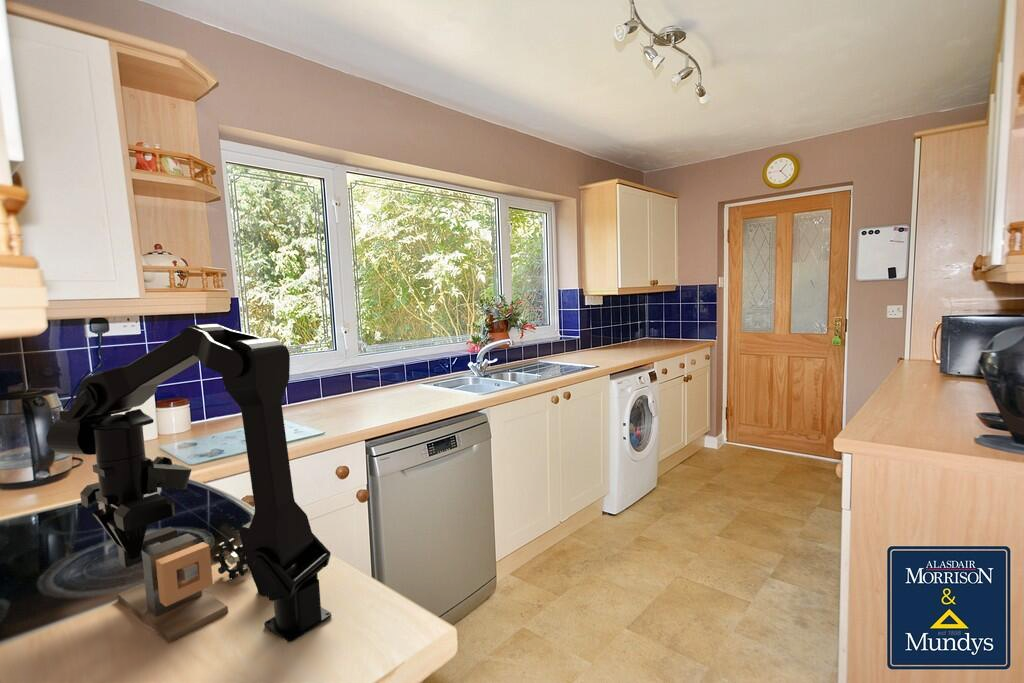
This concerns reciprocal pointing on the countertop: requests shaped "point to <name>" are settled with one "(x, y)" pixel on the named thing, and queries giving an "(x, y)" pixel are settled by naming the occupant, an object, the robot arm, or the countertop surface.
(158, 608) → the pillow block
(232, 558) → the valve
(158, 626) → the base plate
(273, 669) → the countertop surface
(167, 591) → the collar
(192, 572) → the rod
